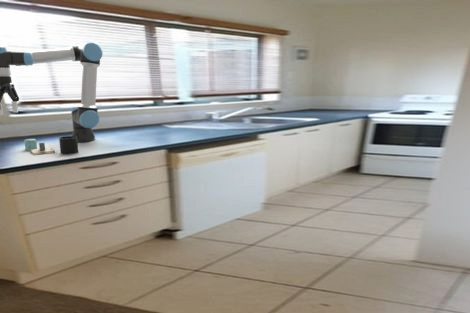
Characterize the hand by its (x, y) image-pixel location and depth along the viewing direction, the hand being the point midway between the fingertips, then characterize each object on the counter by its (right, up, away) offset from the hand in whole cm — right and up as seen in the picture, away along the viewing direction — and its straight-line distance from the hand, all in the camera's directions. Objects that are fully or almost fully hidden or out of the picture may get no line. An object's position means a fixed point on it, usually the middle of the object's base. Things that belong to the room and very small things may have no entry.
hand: (8, 113), depth 206 cm
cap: (+8, -20, +10) cm, 24 cm away
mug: (+33, -22, +4) cm, 40 cm away
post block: (+18, -22, +3) cm, 29 cm away
